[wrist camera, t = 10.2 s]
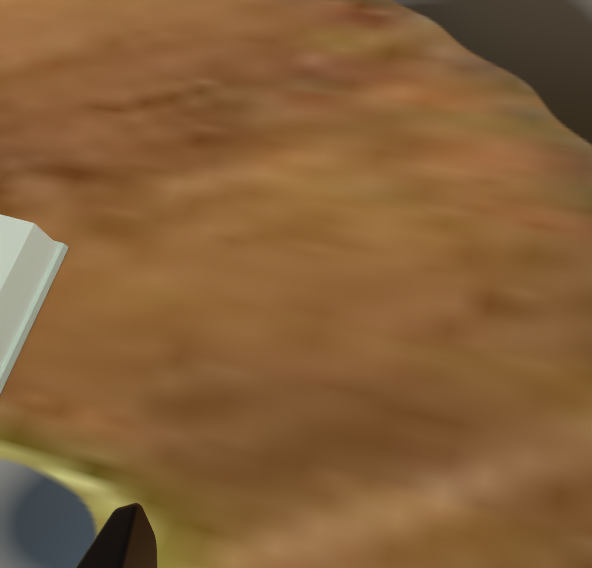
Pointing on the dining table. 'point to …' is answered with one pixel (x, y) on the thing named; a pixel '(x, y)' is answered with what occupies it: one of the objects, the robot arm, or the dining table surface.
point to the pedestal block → (23, 283)
